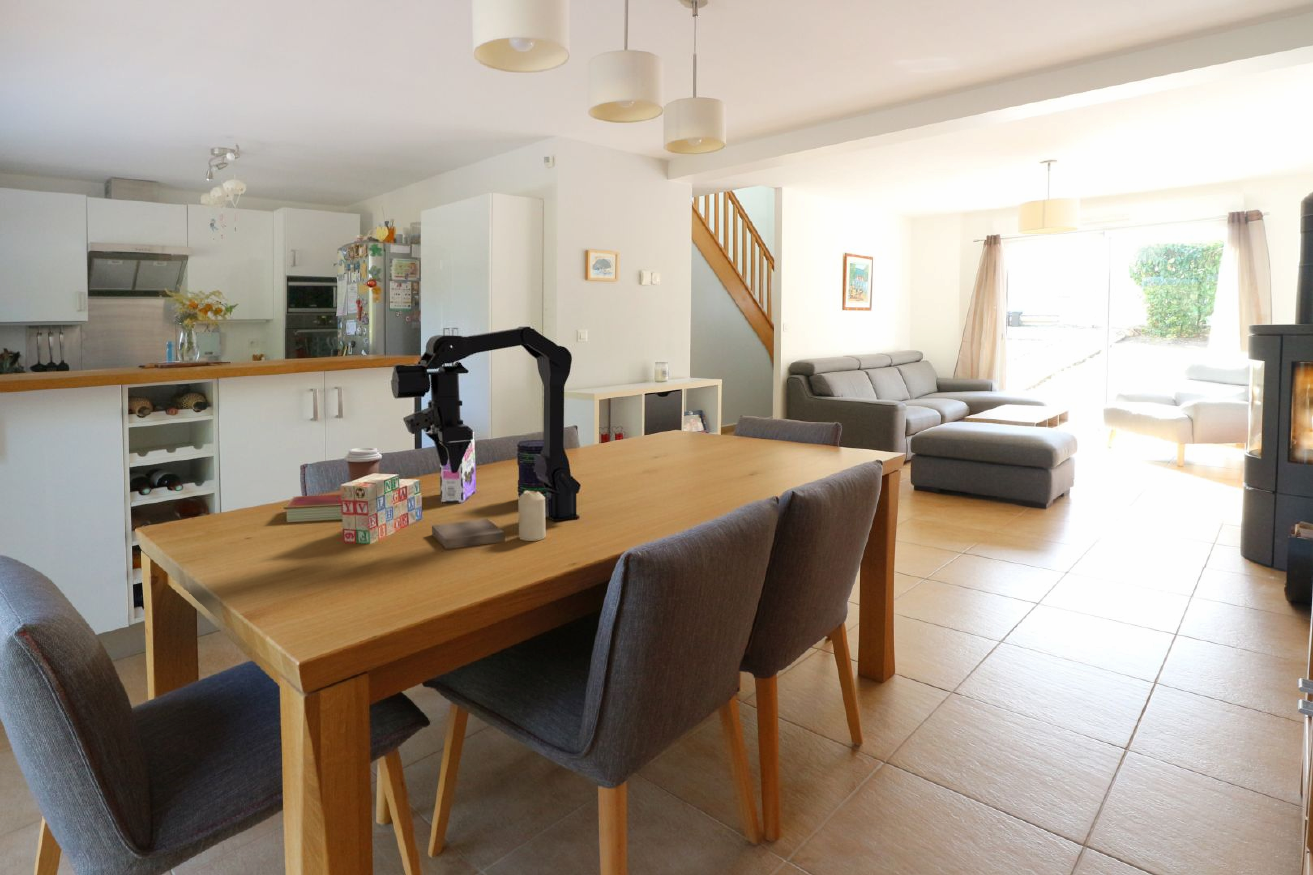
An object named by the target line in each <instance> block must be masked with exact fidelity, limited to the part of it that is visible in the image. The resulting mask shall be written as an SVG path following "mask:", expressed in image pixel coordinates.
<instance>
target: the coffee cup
mask: <svg viewBox="0 0 1313 875" xmlns="http://www.w3.org/2000/svg"><path fill="white" fill-rule="evenodd" d="M382 458H383V456H382V454H381V453H380V452H379V451H378V448H376V447H368V446H367V447H355V448H351V449H349V450H348V453H347V455H345V456H344V461H346V462H347V466H348V474H349V482H351V481H354V480H357V479H359V478H362V477H365V476H368V475H371V474H374V473H375V474H380V460H381V459H382Z"/></svg>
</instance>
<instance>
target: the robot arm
mask: <svg viewBox="0 0 1313 875" xmlns="http://www.w3.org/2000/svg"><path fill="white" fill-rule="evenodd" d="M518 346H519V347H520V346H521V347H522V348H523V349H524V350H525V351H526V353H528V355H530V356H532V358H534V359H535V360H536V365H537V371H538V373H539V377H540V379H541V382H542V385H543V415H542V416H543V418H542V419H543V422H542V424H543V429H542V432H543V433H542V434H543V435H542V436H543V438H542V440H543V449H542V451H541V453H540V455H538V454H535V455H534V460H535V468H534V470H533V471H534V472H536V475H537V478H538V479H539V480H540V481H541V482H543V485H544V488H545V489H548V490H550V491H547V498H545V518H548V519H550V520H551V521H553V522H558V521H564V520H566V521H567V520H573V519H580V517H581V516H580V515H579V514H578V513H577V507H578V506H577V495H578V494H579V492H580V489H581V483H579V481H578V480H577V479H575V478H574V477H573V476H572V474H571V468H570V467H571V466H570V460H569V458H568V455H567V453H566V450H565V444H564V443H565V386H566V382H567V381H568V378H569V377H570V374H571V367H572V362H573V360H572V359H573V356H572V352H571V351H570V350H569V349H568V348H567V347H566V346H562V345H558V344H557V343H555V342H554V341H552V340H550V339H549V338H547V337H546V336H545V335H542V334H541V333H540V332H538V331H537V330H536V329H535V328H534V327H531V326H519V327H516V328H511V329H505V330H504V329H503V330H498V331H492V332H491V331H490V332H485V333H480V334H473V335H471V334H470V335H450V334H449V335H448V334H447V335H446V334H444V335H443V334H438V335H434V336H431V337H430V338H429V339H428V340H427V342H426V344H425V352H423V354H422V356H421V357H420V358H419V360H418V361H417V363H416V364H408V365H406V364H405V365H403V364H393V371H392V376H391V380H390V386H391V392H392V395H393V397H394V399H396V400H397V399H410V398H424V397H425V396H426V394H428V393H429V392H430V399H429V401H428V402H427V407H426V408H424V409H421V410H418V411H416V412H413V413H411V414H409V415H407V416H405V417H403V418H402V420H403V422H404V425H405V428H407V431H408V433H410V435H415V434H418V433H420V432H421V431H422V430H423V432H425V433H424V434H425V435H426V436H427V437H428V438H430V439H431V440H432V441H433V443H434V446H435V450H436V453H437V457H438V460H439V465H440V464H441V466H446V465H447V462H448V459H449V464H450V468H451V472H452V473H457V472H458V469H459V467H460V464H461V462H462V459H463V457H464V455H465V452H466V450H467V448H468V446H469V444H470V443H471V440H472V439H473V432H474V431H473V429H472V428H471V427H470V426H468V425H467V424H464V420H463V419H462V418H461V406H463V400H461V399H460V384H459V383H460V380H459V375H460V374H461V375H462V374H468V373H469V370H468V369H467V368H466V367H464V365H463V364H462V363H461V362H460V360H464V359H466V358H469V357H470V356H473V355H474V354H477V353H479V354H480V353H483V352H490V351H494V350H495V351H496V350H501V349H507V348H512V347H514V348H515V347H518ZM453 363H454V364H453ZM445 364H453V365H445ZM437 369H438V370H437ZM428 370H429V371H428ZM433 370H434V371H433Z"/></svg>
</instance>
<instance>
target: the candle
mask: <svg viewBox="0 0 1313 875" xmlns="http://www.w3.org/2000/svg"><path fill="white" fill-rule="evenodd" d="M517 504H518V508H517V509H518V537H519V540H522V541H526V542H535V541H536V542H537V541H540V540H544V539H545V538H546V516H545V497H544V496H543V495H542V494H541V493H539V492H534V491H528V490H526V491H525V492H524V493H523V494H522V495H521V496H520V497H519V496H518V500H517Z"/></svg>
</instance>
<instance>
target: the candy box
mask: <svg viewBox="0 0 1313 875" xmlns="http://www.w3.org/2000/svg"><path fill="white" fill-rule="evenodd" d="M475 438H476V437H475V431H473V439H472V440H471V443H470V444H469V446H468V448H467V450H466V452H465V455H464V457H463V459H462V462H461V464H460V467H459V469H458V472H457V473H452V472H451V468H450V464H449V459H448V462H447V465H446V466H441V464H440V463H439V479H440V481H439V483H440V487H439V488H440V503H459V504H460V503H462V504H463V503H465V502H466V500H468V499H469V498H470V497H471V496H472V495H473V494H475V493H476V492H477V473H476V448H475V447H476V446H475V444H476V440H475Z"/></svg>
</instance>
